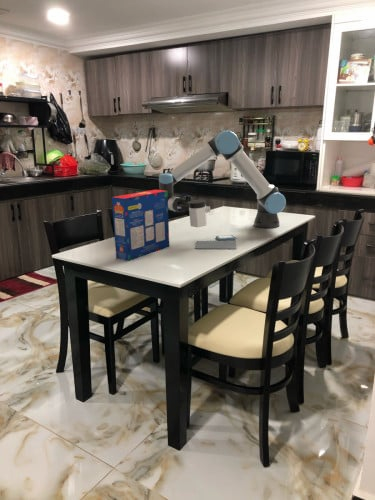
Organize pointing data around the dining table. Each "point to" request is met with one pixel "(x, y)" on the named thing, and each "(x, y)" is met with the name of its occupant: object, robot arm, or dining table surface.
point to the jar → (198, 213)
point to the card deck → (225, 238)
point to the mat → (215, 245)
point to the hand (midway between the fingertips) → (208, 209)
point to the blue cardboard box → (140, 223)
